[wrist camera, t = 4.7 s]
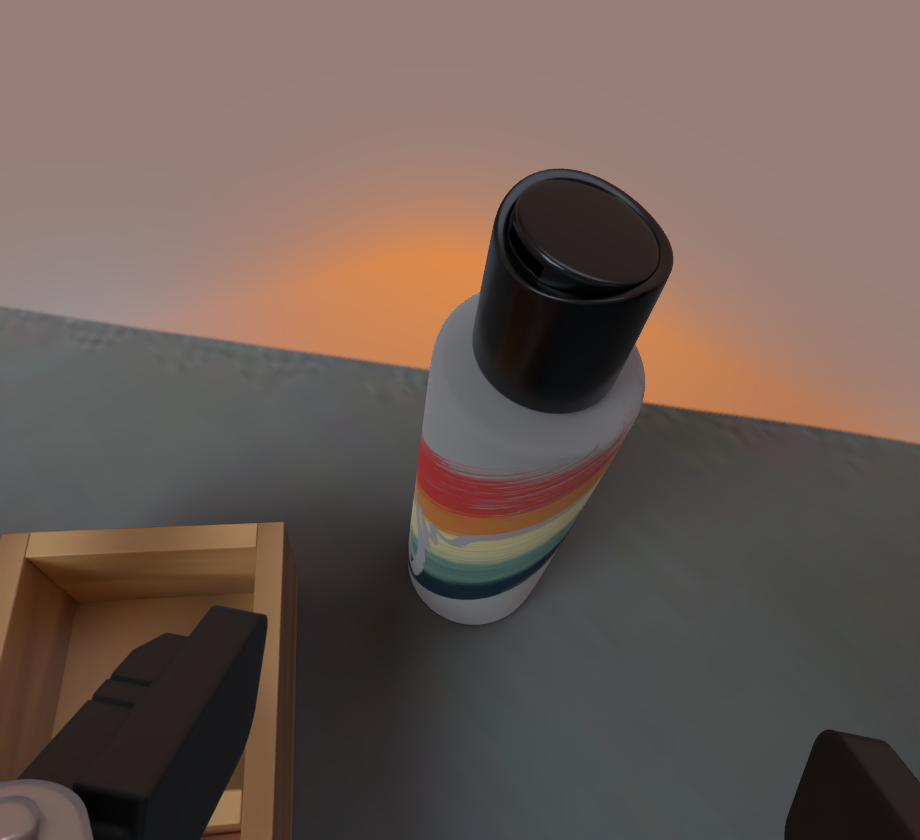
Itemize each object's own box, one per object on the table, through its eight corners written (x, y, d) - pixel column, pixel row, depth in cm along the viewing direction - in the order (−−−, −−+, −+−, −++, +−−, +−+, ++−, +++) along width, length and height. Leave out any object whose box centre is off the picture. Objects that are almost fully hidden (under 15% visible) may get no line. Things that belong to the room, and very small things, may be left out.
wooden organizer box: (298, 577, 30) (284, 521, 25) (284, 1146, 21) (258, 1237, 16) (65, 589, 29) (1, 532, 24) (-52, 1200, 20) (-196, 1318, 15)
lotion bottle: (385, 532, 32) (402, 159, 15) (497, 485, 33) (628, 104, 16) (441, 651, 29) (541, 370, 12) (559, 593, 31) (787, 278, 14)
